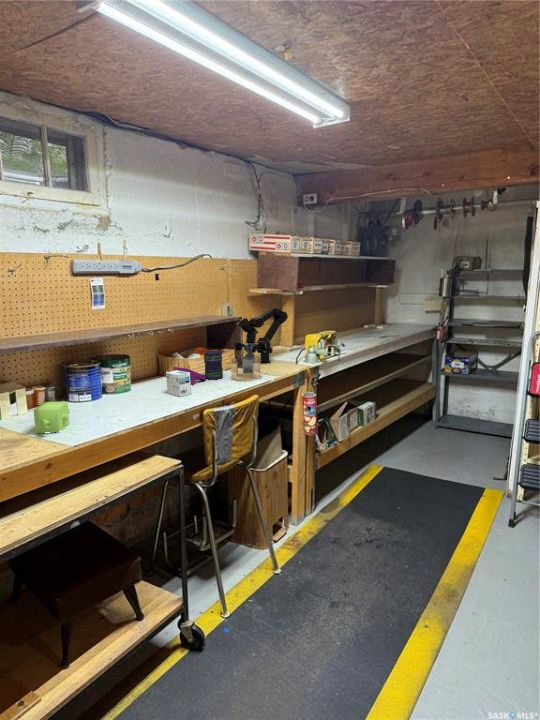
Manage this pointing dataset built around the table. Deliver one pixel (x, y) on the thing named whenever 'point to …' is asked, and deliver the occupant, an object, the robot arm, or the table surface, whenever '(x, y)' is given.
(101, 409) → the table surface
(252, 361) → the silver rectangular block
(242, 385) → the table surface
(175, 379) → the light bulb box
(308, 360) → the table surface
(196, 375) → the mounting bracket
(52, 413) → the gearbox
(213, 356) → the storage jar
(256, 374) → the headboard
